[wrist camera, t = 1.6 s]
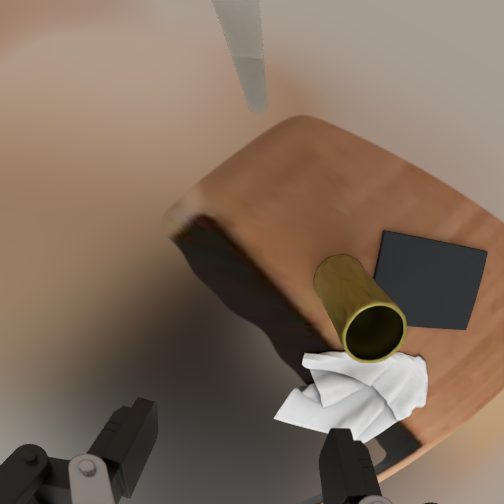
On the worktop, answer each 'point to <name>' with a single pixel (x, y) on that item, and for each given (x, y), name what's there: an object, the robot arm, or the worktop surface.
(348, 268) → the vase
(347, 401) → the cloth
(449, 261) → the mat
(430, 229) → the worktop surface
